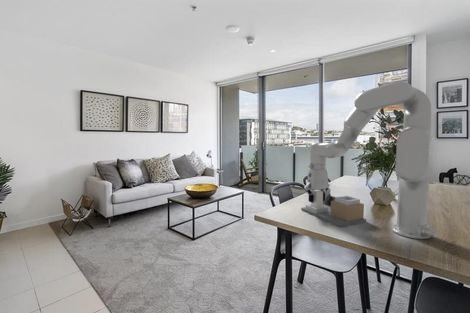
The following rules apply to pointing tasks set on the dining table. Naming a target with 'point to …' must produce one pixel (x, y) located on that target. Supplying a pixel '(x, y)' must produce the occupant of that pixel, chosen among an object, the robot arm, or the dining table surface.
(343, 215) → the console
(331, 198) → the chocolate cake
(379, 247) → the dining table surface
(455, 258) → the dining table surface
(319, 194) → the plug
